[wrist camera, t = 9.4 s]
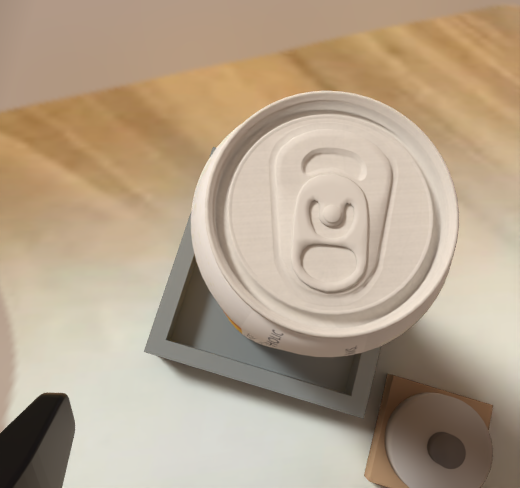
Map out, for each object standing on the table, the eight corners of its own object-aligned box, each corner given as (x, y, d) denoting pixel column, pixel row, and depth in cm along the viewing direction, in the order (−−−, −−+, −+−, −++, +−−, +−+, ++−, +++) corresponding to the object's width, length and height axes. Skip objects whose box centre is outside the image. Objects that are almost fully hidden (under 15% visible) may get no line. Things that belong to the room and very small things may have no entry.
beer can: (341, 234, 25) (478, 87, 11) (335, 352, 24) (479, 372, 9) (226, 223, 25) (202, 60, 11) (213, 342, 24) (167, 344, 9)
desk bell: (463, 506, 23) (494, 529, 21) (364, 475, 24) (381, 494, 21) (483, 402, 24) (515, 410, 22) (387, 373, 25) (407, 378, 22)
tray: (354, 412, 24) (363, 418, 22) (151, 350, 24) (143, 351, 22) (401, 216, 26) (414, 205, 24) (215, 161, 27) (212, 147, 25)
